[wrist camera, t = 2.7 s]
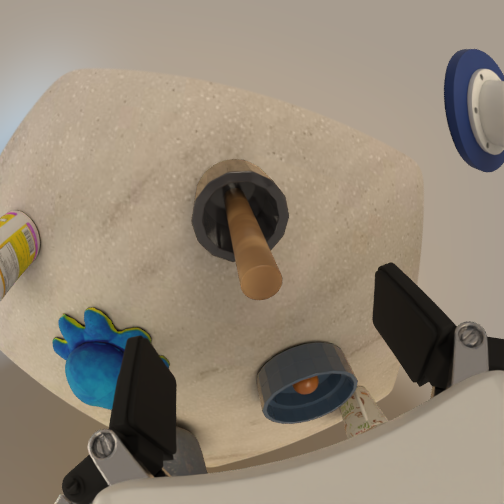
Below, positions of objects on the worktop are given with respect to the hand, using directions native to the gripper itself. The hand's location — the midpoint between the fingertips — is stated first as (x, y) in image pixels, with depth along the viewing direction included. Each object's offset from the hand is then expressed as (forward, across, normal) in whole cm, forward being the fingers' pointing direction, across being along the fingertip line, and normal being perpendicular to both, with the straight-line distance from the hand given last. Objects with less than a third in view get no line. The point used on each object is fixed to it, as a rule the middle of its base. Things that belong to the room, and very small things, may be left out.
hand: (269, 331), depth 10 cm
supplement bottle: (+18, +24, -4) cm, 31 cm away
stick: (+17, 0, 0) cm, 17 cm away
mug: (+18, -12, +42) cm, 47 cm away
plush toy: (+18, +22, +16) cm, 33 cm away
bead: (+15, -4, +28) cm, 32 cm away
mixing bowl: (+18, -4, +29) cm, 34 cm away
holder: (+18, 0, 0) cm, 18 cm away
